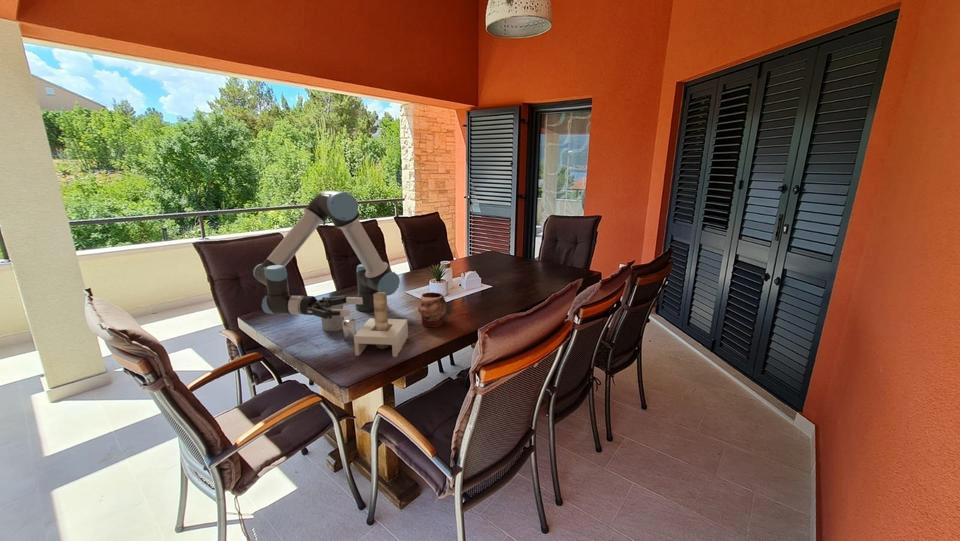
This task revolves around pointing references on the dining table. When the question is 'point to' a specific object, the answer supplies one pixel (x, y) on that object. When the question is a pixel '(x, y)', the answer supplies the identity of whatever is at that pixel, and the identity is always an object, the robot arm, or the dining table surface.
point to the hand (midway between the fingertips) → (356, 306)
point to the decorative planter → (432, 309)
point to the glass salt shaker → (349, 329)
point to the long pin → (380, 314)
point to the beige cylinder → (333, 320)
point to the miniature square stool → (382, 335)
